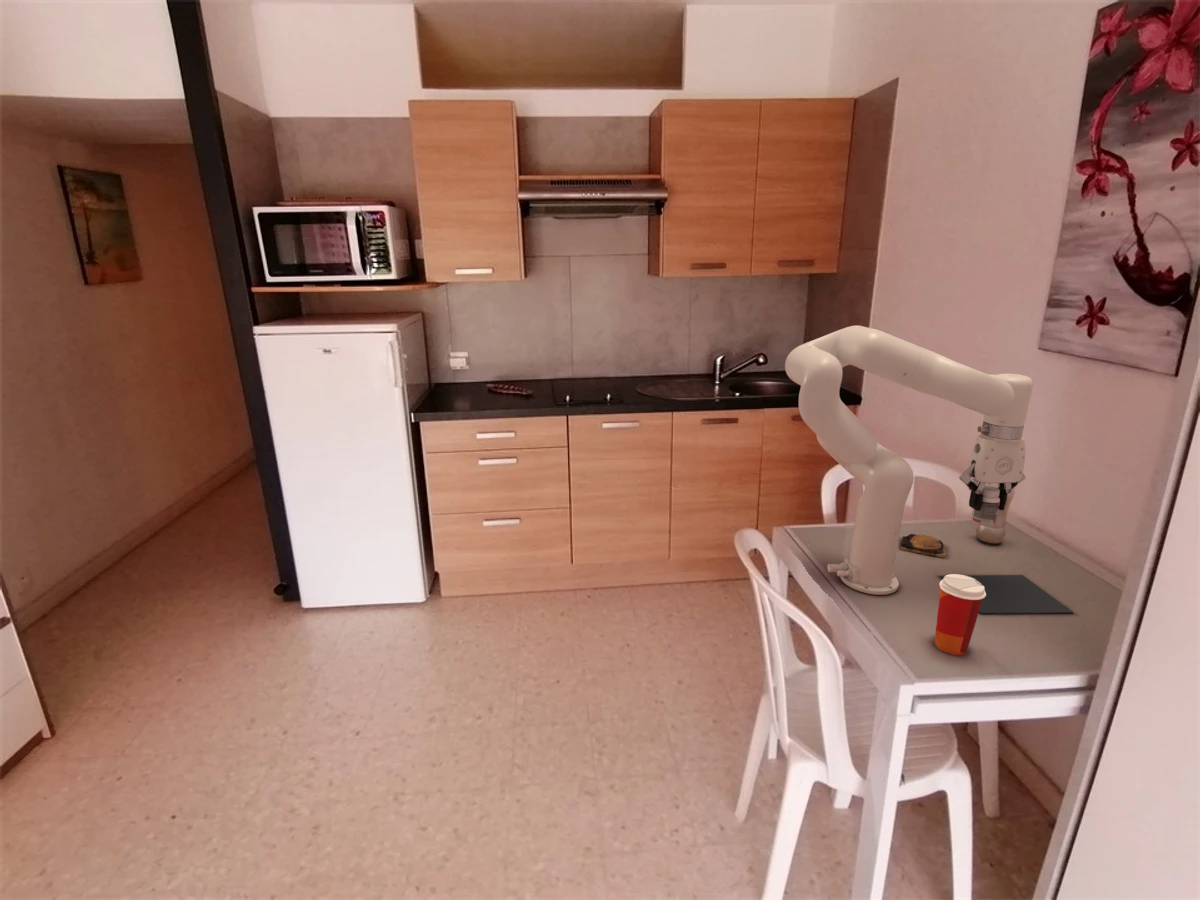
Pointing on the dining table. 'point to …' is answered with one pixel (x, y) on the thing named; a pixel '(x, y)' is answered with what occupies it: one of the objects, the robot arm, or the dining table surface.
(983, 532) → the plastic bottle
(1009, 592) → the mat
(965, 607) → the paper cup
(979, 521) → the pill bottle
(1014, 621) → the dining table surface
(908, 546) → the bread roll
